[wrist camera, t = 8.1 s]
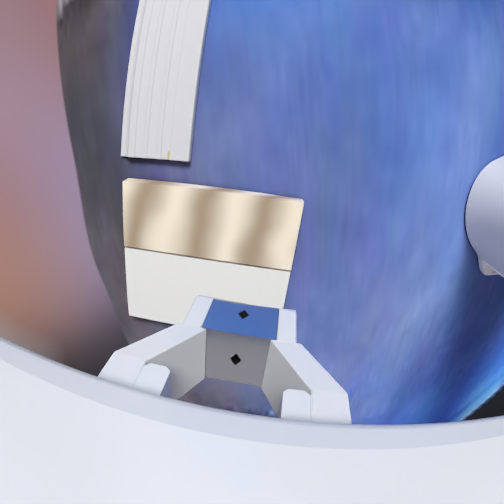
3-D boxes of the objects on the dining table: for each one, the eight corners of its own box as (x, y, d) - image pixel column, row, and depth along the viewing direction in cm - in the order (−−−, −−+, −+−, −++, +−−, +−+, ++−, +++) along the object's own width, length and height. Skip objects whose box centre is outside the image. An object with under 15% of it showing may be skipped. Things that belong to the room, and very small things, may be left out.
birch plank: (302, 199, 35) (303, 203, 33) (290, 263, 38) (290, 270, 37) (128, 178, 35) (122, 181, 34) (129, 240, 39) (124, 245, 37)
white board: (289, 266, 38) (290, 272, 37) (276, 332, 42) (276, 340, 41) (130, 242, 39) (124, 247, 37) (133, 309, 43) (129, 315, 41)
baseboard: (113, 154, 35) (192, 159, 35) (102, 157, 32) (186, 163, 32) (148, -63, 23) (226, -68, 23) (141, -72, 20) (223, -79, 20)
